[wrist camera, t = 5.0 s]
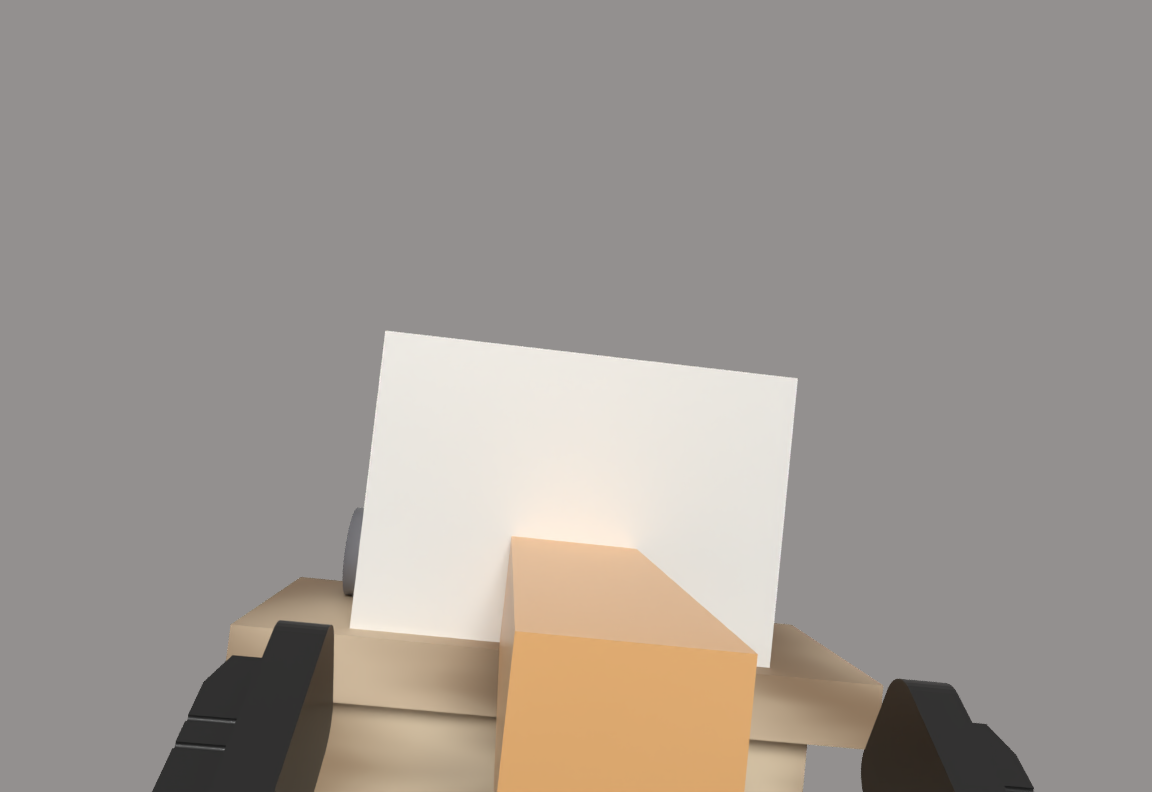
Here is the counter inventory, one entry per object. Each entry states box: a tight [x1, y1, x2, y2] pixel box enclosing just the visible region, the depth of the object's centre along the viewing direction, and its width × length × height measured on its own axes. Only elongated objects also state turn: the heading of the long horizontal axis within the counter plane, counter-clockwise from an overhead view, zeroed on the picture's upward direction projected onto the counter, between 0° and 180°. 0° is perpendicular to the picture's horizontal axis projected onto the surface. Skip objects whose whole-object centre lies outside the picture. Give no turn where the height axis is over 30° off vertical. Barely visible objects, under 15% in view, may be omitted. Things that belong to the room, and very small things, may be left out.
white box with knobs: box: [343, 331, 798, 792], centre depth 19 cm, size 12×16×7 cm
